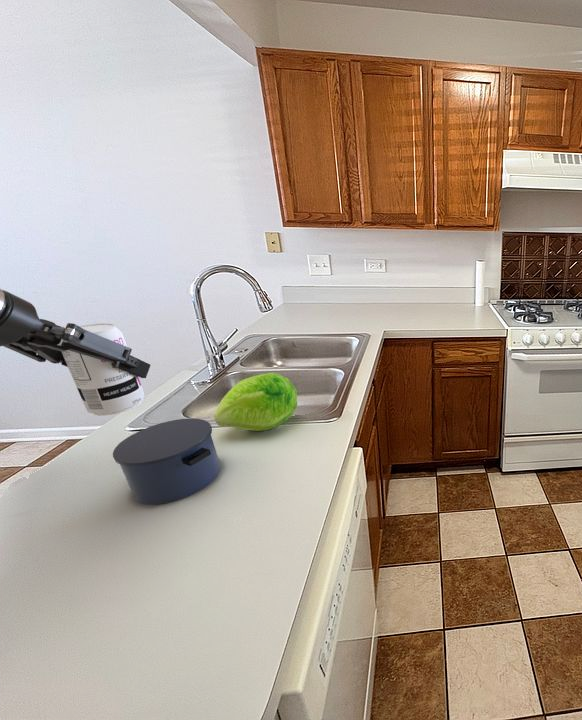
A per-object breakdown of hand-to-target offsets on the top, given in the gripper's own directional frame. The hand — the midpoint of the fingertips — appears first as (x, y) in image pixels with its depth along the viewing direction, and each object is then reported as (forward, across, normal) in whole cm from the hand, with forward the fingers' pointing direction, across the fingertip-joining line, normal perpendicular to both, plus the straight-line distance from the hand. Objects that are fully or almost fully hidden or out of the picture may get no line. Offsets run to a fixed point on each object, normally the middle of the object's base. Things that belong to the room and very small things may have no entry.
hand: (123, 371), depth 74 cm
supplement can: (+2, 0, -6) cm, 7 cm away
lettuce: (+39, +6, -2) cm, 39 cm away
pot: (+23, -1, -17) cm, 29 cm away
